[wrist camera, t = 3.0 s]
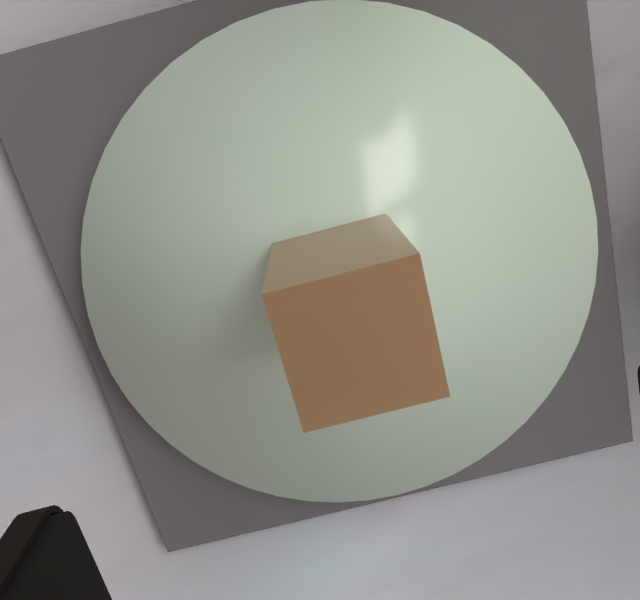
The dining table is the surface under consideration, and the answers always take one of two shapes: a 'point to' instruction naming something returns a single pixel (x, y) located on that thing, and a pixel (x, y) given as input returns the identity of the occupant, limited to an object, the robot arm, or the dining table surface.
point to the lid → (339, 250)
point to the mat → (101, 122)
